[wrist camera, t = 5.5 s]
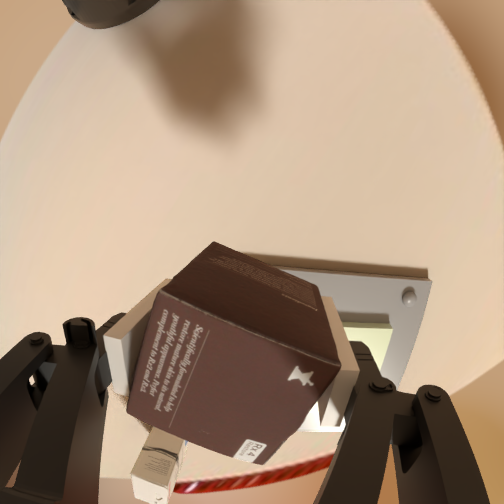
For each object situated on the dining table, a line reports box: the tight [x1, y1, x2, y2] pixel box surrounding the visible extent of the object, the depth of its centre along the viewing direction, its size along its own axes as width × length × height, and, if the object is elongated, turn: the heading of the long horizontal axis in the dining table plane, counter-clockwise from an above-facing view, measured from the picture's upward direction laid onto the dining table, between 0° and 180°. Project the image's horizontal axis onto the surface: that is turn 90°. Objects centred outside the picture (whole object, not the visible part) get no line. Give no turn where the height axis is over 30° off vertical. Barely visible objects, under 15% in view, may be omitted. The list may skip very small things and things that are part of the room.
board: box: [270, 265, 432, 432], centre depth 30 cm, size 22×20×2 cm
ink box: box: [130, 426, 188, 504], centre depth 31 cm, size 8×5×12 cm, turn 167°
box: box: [126, 242, 342, 465], centre depth 12 cm, size 6×6×7 cm
